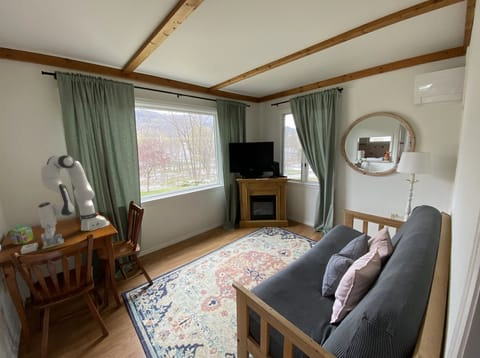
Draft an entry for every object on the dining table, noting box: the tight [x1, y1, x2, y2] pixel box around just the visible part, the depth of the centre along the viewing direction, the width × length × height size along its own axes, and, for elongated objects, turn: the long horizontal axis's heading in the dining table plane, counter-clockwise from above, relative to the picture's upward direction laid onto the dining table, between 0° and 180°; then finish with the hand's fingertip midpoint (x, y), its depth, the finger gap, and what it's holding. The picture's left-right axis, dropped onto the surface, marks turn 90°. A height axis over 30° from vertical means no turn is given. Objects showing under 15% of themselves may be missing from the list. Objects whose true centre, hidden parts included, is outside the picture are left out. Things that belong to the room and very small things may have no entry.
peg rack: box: [42, 238, 65, 250], centre depth 163 cm, size 12×8×5 cm, turn 127°
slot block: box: [20, 242, 39, 255], centre depth 156 cm, size 8×8×3 cm
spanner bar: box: [41, 233, 63, 245], centre depth 163 cm, size 11×4×4 cm, turn 127°
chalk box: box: [9, 223, 35, 245], centre depth 168 cm, size 9×9×15 cm
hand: (52, 239), depth 163 cm, fingers closed on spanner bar, 3 cm apart
